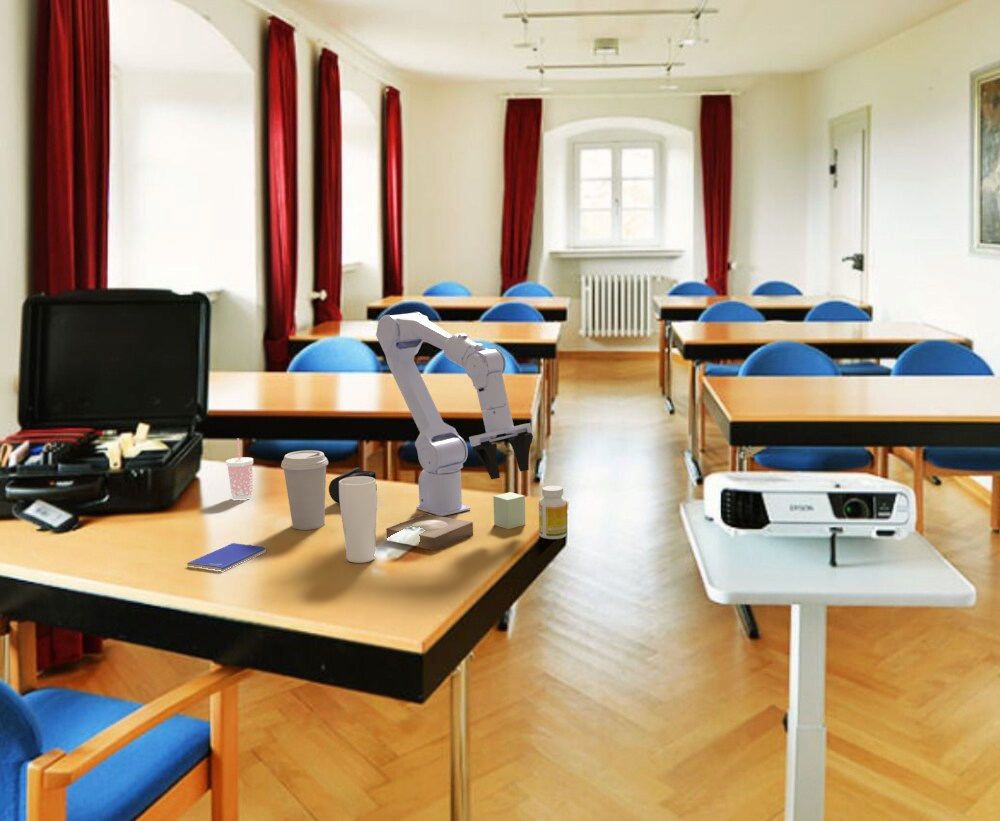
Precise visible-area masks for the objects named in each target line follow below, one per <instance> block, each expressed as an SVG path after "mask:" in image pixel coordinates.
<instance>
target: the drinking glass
mask: <svg viewBox="0 0 1000 821" xmlns="http://www.w3.org/2000/svg"><path fill="white" fill-rule="evenodd" d="M376 484H377V483H376V479H374V478H373V477H368V476H354V477H348V478H344V479H341V480H340V481H339V501H340V505H339V509H340V515H341V522H342V529H343V535H344V542H345V543H344V544H345V549H346V550H345V552H346V554H345V555H346V560H347V561H348V562H350V563H354V564H364V563H369V562H372V561H373V560H375V559H376V557H375V556H374V554H375V551H376V552H377V550H376V544H377V543H376V541H377V540H376V539H377V515H378V514H377V510H378V508H377V506H378V500H377V499H378V497H377V496H378V495H377V494H378V493H377V491H376Z"/></svg>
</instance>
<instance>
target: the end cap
mask: <svg viewBox="0 0 1000 821" xmlns="http://www.w3.org/2000/svg"><path fill="white" fill-rule="evenodd" d="M354 476H368V477H373V478H374V479H375V480H377V473H376V471H373V470H372V471H371V470H362V468H361V467H355V468H353V469H351V470H349V471H346V472H344V473H342V474H340V475H339V476H336V477H335V478H333V479H332V480H331V481H330V482H329V485H328V493H329V496H330V498H331V500H333V501H334V502H335V503H337V504H338V505H339V506H340V501H339V481H340V480H341V479H344V478H348V477H354ZM377 488H378V487H377V483H376V492H377V491H378V490H377Z"/></svg>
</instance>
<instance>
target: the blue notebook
mask: <svg viewBox="0 0 1000 821" xmlns="http://www.w3.org/2000/svg"><path fill="white" fill-rule="evenodd" d="M266 551H267V550H266V547H265V546H259V545H252V544H243V543H237V542H236V543H235V542H233V543H229V544H228V545H226V546H223V547H221V548H218V549H216V550H214V551H212V552H211V551H210V552H209V553H207V554H204V555H203V556H200V557H198V558H196V559H193V560H191V561H188V562H186V563H187V564H186V566H194V567H202V568H208V569H215V570H221V571H224V570H226V569H228V568H230V567H233V566H235V565H237V564H239V563H241V562H244V561H246V560H248V559H250V558H252V559H254V558H256V557H258V556H260V555H262V554H261V553H263V554H265V553H266ZM264 552H265V553H264ZM259 554H260V555H259ZM257 555H258V556H257ZM255 556H256V557H255ZM253 557H254V558H253ZM250 560H251V559H250ZM248 561H249V560H248ZM246 562H247V561H246ZM244 563H245V562H244ZM241 564H242V563H241ZM239 565H240V564H239ZM237 566H238V565H237ZM235 567H236V566H235ZM233 568H234V567H233ZM226 571H227V570H226ZM224 572H225V571H224Z"/></svg>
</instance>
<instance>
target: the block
mask: <svg viewBox="0 0 1000 821" xmlns="http://www.w3.org/2000/svg"><path fill="white" fill-rule="evenodd" d="M525 499H526V497H525V495H523V494H518V493H515V492H512V491H509V492H505V493H500V494H496V495H493V524H494V525H495V526H498V527H500V528H504V529H508V530H509V529H515V528H517V527H520V526H525V525H526V500H525Z"/></svg>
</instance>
